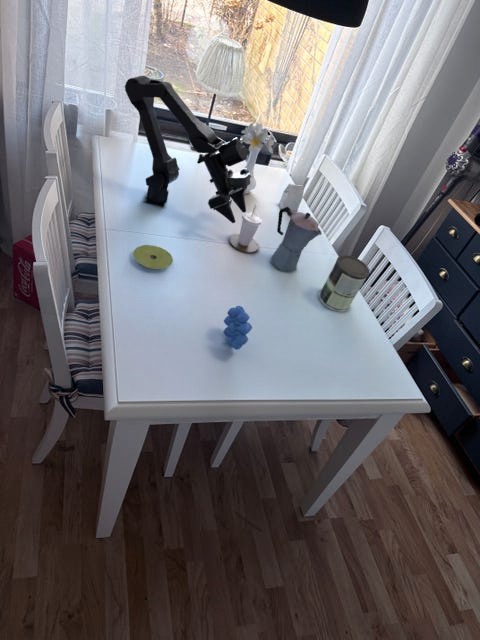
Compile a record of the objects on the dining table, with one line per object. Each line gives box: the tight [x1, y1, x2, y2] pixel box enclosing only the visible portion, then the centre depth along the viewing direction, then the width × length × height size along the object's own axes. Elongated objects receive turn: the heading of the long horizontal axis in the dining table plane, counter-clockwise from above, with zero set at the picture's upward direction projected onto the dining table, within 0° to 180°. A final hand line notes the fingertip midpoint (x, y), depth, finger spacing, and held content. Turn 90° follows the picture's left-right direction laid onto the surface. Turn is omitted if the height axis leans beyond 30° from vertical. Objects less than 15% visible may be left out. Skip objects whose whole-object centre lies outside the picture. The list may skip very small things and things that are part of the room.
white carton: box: [278, 183, 306, 212], centre depth 185 cm, size 4×7×10 cm, turn 107°
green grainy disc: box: [132, 244, 174, 270], centre depth 137 cm, size 11×11×2 cm
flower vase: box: [238, 122, 275, 194], centre depth 181 cm, size 13×18×25 cm
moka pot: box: [270, 207, 322, 273], centre depth 151 cm, size 10×15×20 cm, turn 58°
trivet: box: [228, 233, 259, 254], centre depth 158 cm, size 10×10×1 cm
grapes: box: [222, 305, 253, 350], centre depth 118 cm, size 12×7×12 cm, turn 18°
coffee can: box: [318, 254, 370, 313], centre depth 145 cm, size 10×10×14 cm
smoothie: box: [238, 204, 263, 246], centre depth 154 cm, size 6×6×14 cm
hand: (239, 217), depth 154 cm, fingers open, 9 cm apart
